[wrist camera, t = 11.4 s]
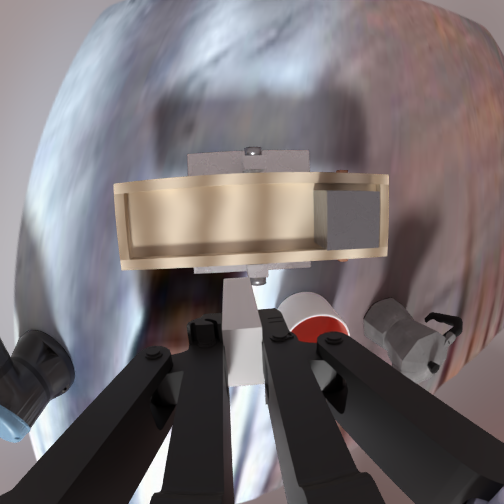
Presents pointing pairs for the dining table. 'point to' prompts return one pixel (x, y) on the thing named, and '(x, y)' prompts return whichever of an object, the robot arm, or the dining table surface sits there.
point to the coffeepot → (410, 338)
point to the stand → (249, 163)
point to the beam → (233, 219)
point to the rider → (346, 219)
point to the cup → (310, 316)
